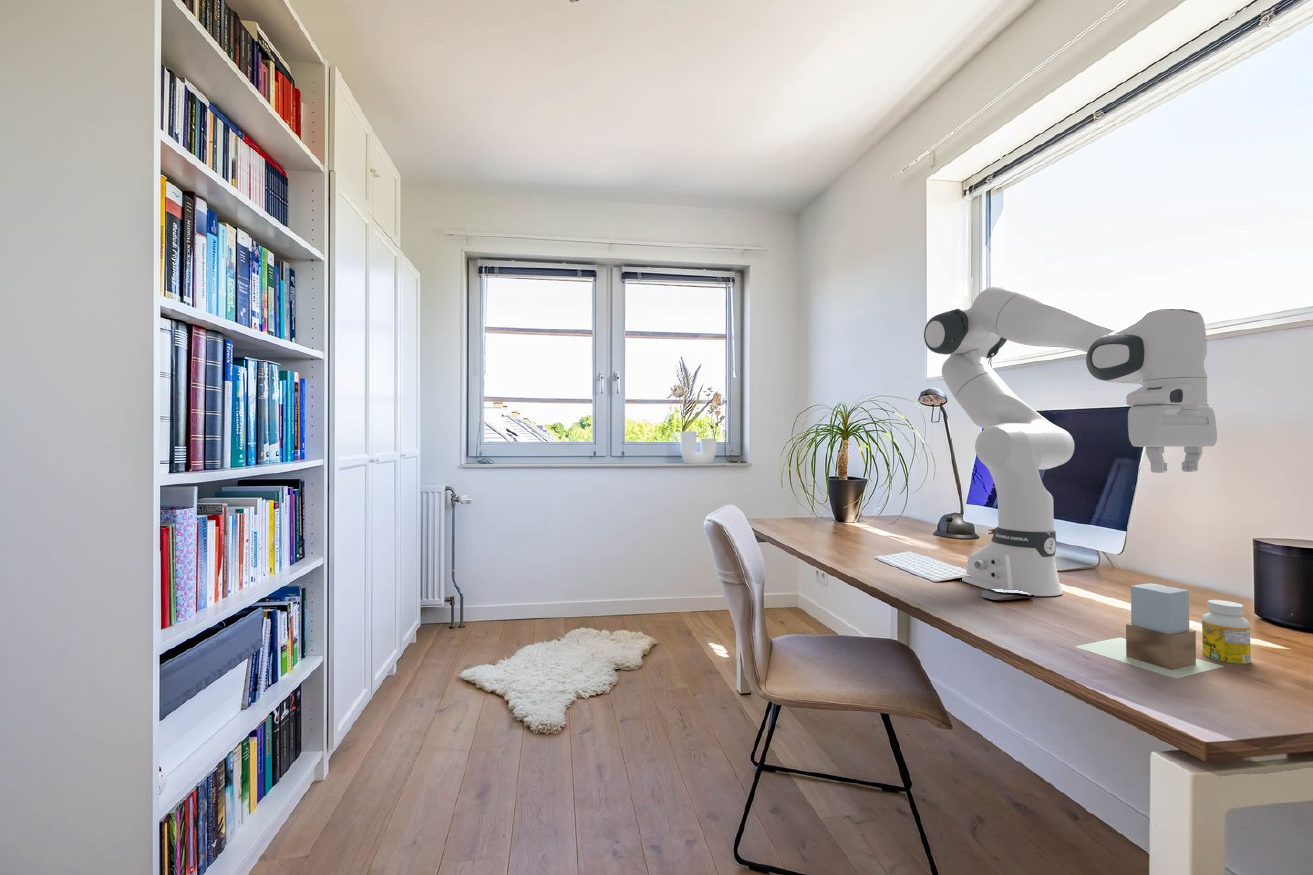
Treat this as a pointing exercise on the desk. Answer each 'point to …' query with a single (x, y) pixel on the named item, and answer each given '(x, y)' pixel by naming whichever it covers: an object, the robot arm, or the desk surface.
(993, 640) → the desk surface
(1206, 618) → the supplement bottle
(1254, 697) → the desk surface
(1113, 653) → the plate
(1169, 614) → the slate brick
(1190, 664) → the walnut block
